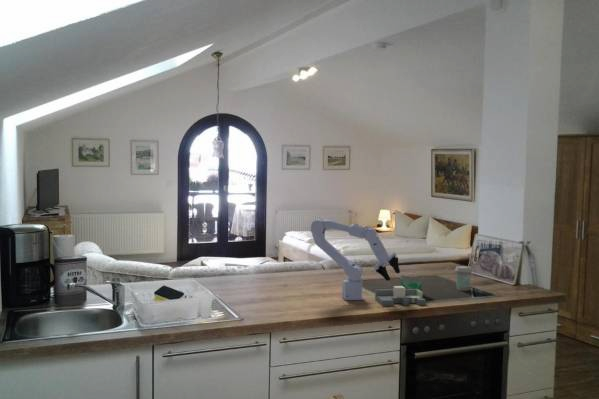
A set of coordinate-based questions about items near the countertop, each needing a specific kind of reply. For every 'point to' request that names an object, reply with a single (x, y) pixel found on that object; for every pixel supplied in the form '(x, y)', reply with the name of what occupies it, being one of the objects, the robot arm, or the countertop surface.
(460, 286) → the coffee cup
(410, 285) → the food container
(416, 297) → the trap board
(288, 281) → the countertop surface
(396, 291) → the cream block
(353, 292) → the robot arm
